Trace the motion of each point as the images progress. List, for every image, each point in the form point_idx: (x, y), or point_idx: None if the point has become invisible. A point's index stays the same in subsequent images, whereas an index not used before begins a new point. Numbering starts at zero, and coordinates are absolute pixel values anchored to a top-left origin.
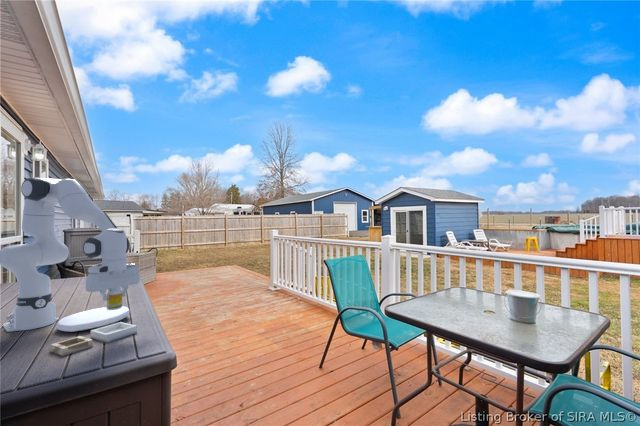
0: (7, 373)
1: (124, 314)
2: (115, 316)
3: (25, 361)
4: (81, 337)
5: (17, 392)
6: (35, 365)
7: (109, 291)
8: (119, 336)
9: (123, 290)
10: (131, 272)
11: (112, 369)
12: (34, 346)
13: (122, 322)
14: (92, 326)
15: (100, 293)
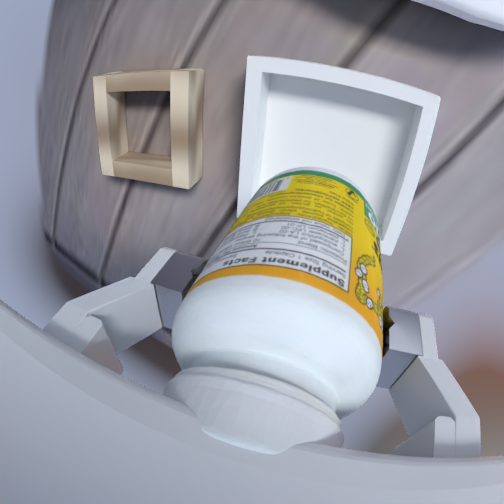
0: (39, 149)
1: None
2: (478, 13)
3: (62, 101)
4: (179, 106)
5: (56, 255)
6: (70, 160)
7: (195, 356)
8: None
9: (420, 395)
10: None
11: (163, 339)
12: None
13: (433, 120)
14: None
15: (83, 300)
